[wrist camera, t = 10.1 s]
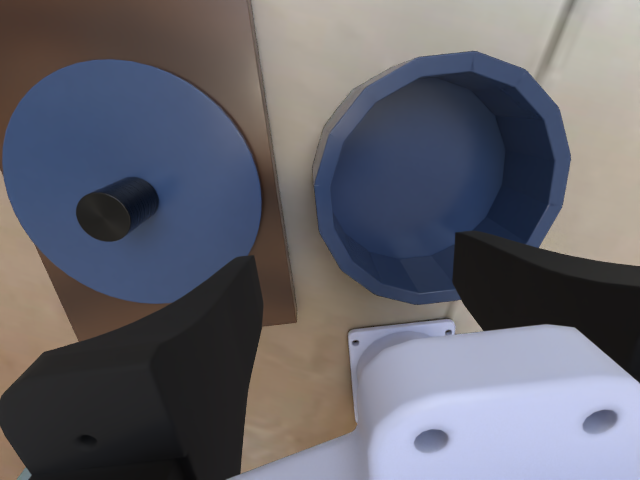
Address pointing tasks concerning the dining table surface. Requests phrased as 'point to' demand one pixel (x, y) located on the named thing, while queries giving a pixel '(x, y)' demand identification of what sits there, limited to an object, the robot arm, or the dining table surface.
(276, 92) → the dining table surface
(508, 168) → the tin
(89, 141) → the lid
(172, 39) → the board
